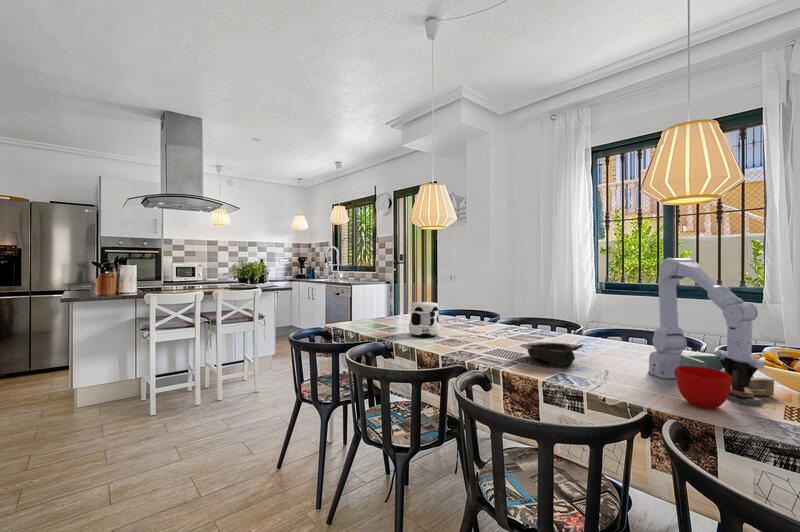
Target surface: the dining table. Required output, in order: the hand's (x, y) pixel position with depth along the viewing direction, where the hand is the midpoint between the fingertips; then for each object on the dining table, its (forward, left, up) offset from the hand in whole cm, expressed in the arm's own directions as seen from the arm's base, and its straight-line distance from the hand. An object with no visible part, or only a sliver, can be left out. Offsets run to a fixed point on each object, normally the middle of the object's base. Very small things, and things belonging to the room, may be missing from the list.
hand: (738, 385), depth 119 cm
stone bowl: (-42, +43, -5) cm, 60 cm away
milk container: (-91, +96, -5) cm, 132 cm away
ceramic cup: (-16, -3, -5) cm, 16 cm away
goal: (+9, +22, -4) cm, 24 cm away
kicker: (+6, +1, -4) cm, 7 cm away
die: (+9, +11, -5) cm, 15 cm away
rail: (0, +5, -4) cm, 6 cm away
